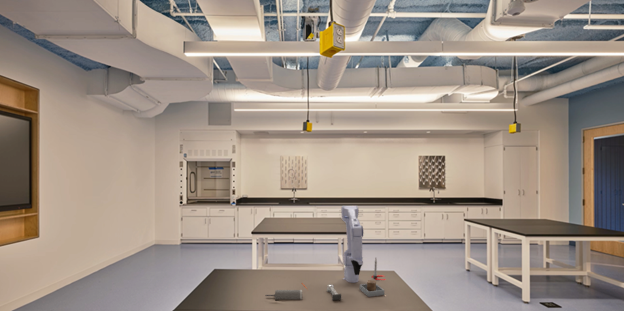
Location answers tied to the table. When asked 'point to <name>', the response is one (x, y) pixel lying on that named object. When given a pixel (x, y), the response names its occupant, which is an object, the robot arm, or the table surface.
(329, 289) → the crank lever
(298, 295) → the motor
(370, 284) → the block
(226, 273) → the table surface
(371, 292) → the tray
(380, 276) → the tow hook
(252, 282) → the table surface
